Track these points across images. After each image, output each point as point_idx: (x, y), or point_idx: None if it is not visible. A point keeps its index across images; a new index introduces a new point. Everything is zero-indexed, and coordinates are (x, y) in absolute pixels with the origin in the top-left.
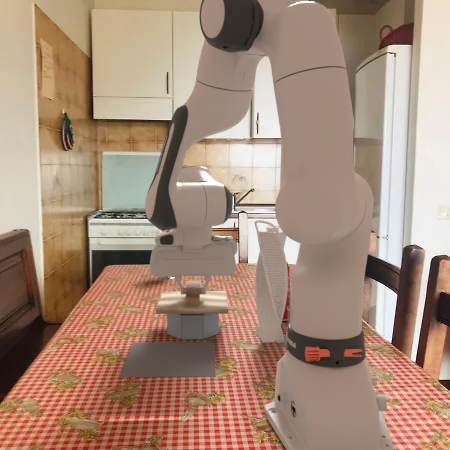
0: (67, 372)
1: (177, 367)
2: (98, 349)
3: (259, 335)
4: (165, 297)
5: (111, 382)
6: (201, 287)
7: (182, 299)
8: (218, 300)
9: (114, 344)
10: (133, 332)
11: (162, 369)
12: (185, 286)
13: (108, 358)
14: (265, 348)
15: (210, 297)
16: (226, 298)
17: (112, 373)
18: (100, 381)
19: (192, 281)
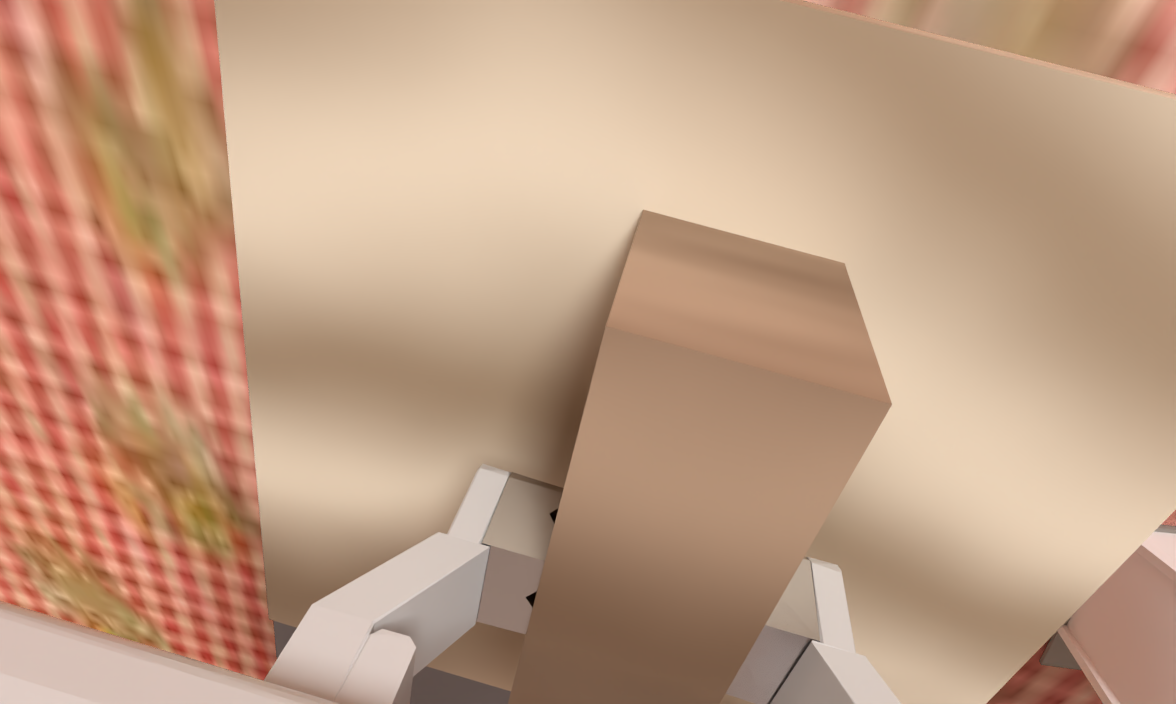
0: (76, 566)
1: (496, 694)
2: (91, 392)
3: (1120, 584)
4: (305, 287)
5: (265, 673)
6: (744, 698)
7: (522, 434)
8: (951, 597)
9: (150, 350)
10: (207, 158)
11: (435, 687)
12: (512, 590)
13: (185, 506)
14: (1032, 662)
15: (920, 466)
16: (1113, 566)
17: (249, 625)
18: (225, 657)
19: (686, 438)
